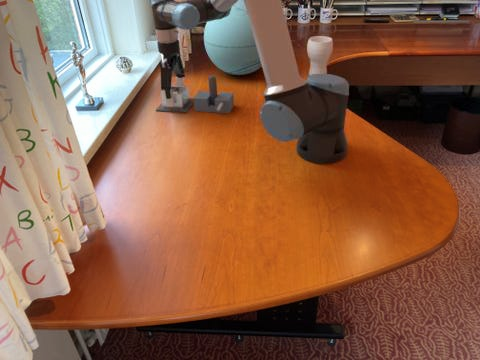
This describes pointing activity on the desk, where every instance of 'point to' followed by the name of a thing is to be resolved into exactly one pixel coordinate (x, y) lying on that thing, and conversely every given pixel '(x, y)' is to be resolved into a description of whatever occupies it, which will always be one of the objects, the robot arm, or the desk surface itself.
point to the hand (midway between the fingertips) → (176, 99)
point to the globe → (232, 42)
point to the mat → (177, 109)
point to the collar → (177, 96)
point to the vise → (213, 99)
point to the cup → (319, 53)
